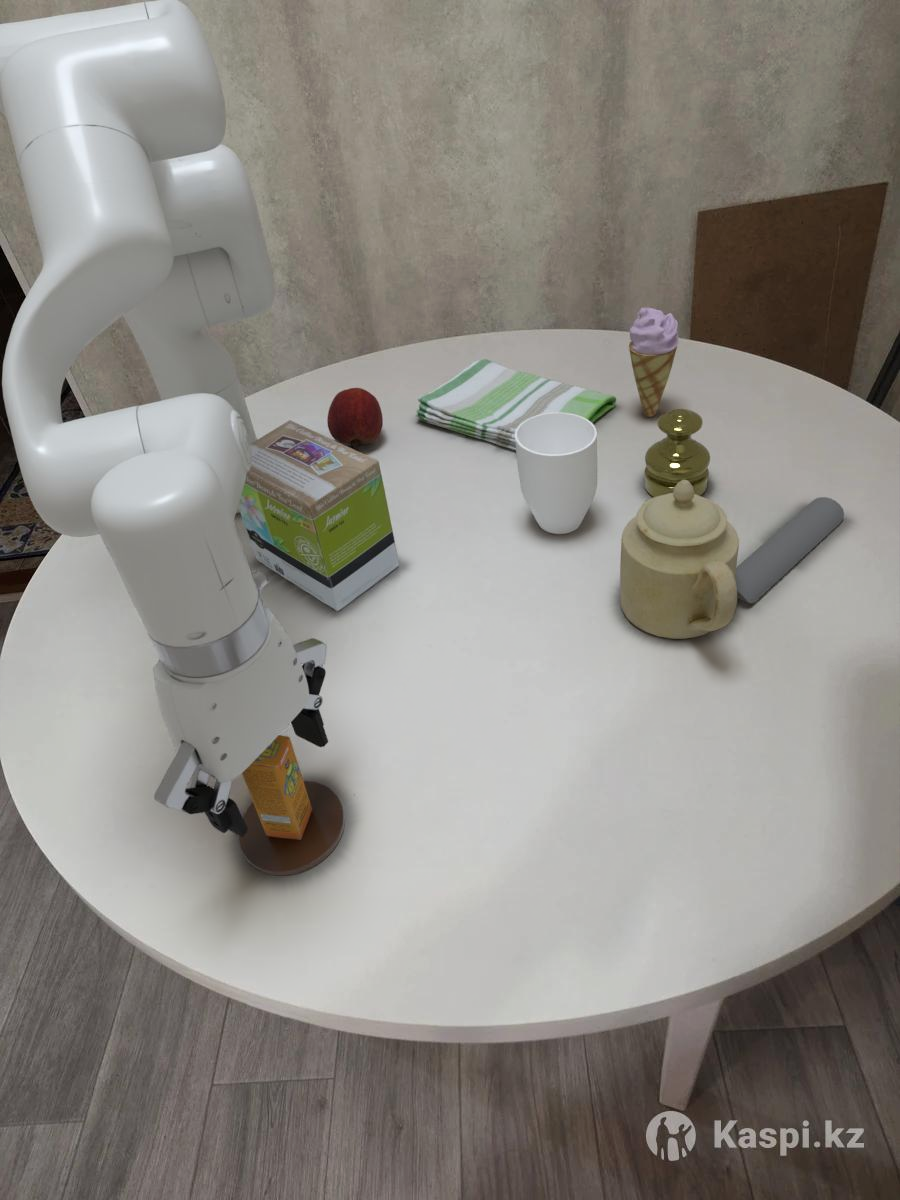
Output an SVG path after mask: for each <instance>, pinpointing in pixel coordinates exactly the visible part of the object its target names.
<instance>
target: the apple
mask: <svg viewBox="0 0 900 1200" xmlns="http://www.w3.org/2000/svg"><path fill="white" fill-rule="evenodd" d="M326 421H327V428H328V432H329V433H330V435H331V437H332V439H333V440H334V441H336V442H338V443H341V444H344V445H346V444H347V445H351V446H350V448H351V449H355V447H357V445H367V444H371V443H373V442H375V441H376V440H377V439H378V438H379V436H380V435H381V433H382V429H383V426H384V425H383V423H384V419H383V413H382V408H381V404H380V402H379V401H378V399H377V397H376V396H375V395H373V394H372V393H371V392H369V391H368V390H366V389H364V388H361V387H350V388H347V389H343V390H341V391H339V392H338V393H337V394H336V395H335V396H334V397H333V399H332V400H331V403H330V405H329V408H328V412H327V420H326Z"/></svg>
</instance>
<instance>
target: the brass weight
mask: <svg viewBox="0 0 900 1200" xmlns="http://www.w3.org/2000/svg"><path fill="white" fill-rule="evenodd" d="M657 427H658V429H659V430H660V431H661V432H662V433H664V434H666V436H665V437H664V438H663V439H661V440H659V441H657V442H655V443H653V444H652V445H651V446H650V447H649V448H648V449H647V451H646V452H645V454H644V455H645V456H644V459H645V461H644V462H645V468H644V488H645V490H646V491H647V493H648V494H649V495H650V496H651V497H652V498H654V497H657V496H661V495H666V494H669V493H673V491H674V488H675V486H676V485H677V484H678V483H679V482H680V481H682V480H687V481H689V482H690V483H691V485H692V487H693V489H694V493H695V494H696V495H699V496H702V495H703V494H704V493H705V492H706V490H707V488H708V478H709V474H710V471H709V466H710V463H711V453H710V451H709V450H708V449H707V447H706V446H705V445H704V444H702V443H701V442H699V441H697V440H696V439H694V438H693V437H692V436H693V434H696V433H698V432H699V431H700V430H701V428H702V427H703V418H702V416H701V415H700V414H698V413H697V412H695V411H692V410H691V409H687V408H686V409H685V408H675V409H671V410H668V411H666V412H664V413H662V414H661V415H659V417H658V418H657Z"/></svg>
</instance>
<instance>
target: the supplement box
mask: <svg viewBox="0 0 900 1200" xmlns="http://www.w3.org/2000/svg"><path fill="white" fill-rule="evenodd" d="M241 775H242V777H243V780H244V782H245V785H246V788H247V791H248V792H249V796H250V798H251V800H252V803H254V806H255V808H256V811H257V813H258V816H259V818H260V821H261V824H262V826H263V828H264V831H265V833H266V835H267V836H272V837H279V838H288V839H297V840H300V839H301V838H302V836H303V833H304V831H305V828H306V826H307V823H308V820H309V817H310V814H311V812H312V807H311V804H310V801H309V798H308V795H307V791H306V788H305V785H304V782H303V780H304V777H303V775H302V772H301V769H300V765H299V763H298V759H297V755H296V753H295V750H294V746H293V743H292V740H291V737H289V736H288V735H281V734H279V735H278V737H277V738H276V739H275V740H274V741H273V742H272V743H271V744H270V745H269V746H268V747H267V748H266V749H265V750H264V751H263V752H262V753H261V754H260V755H259V756H258V757H257V758H256V759H255V760H254V761H253V763H252V764H251V765H250V766H249V767H248V768H247V769H246V770H244V771H243V772H242V773H241Z"/></svg>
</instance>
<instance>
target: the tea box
mask: <svg viewBox="0 0 900 1200" xmlns="http://www.w3.org/2000/svg"><path fill="white" fill-rule="evenodd" d="M250 446H251V455H252V462H251V468H250V470H249V471H248V472H247V474H246V479H245V484H244V488H243V491H242V494H241V497H240V500H239V503H238V507H239V510H240V513H239V514H240V515H241V518H242V522H243V525H244V527H245V529H246V533H247V535H248V538H249V541H250V544H251V547H252V550H253V553H254V556H255V558H256V560H257V561H258V562H260V563H261V564H262V565H264V566H265V567H267V568H268V569H269V570H271V571H274V572H275V573H276V574H278V575H279V576H281V577H282V578H284V579H285V580H288V581H289V582H291V583H292V584H294V585H295V586H297V587H298V588H299V589H301V590H303V591H304V592H306V593H308V594H310V595H311V596H312V597H314V598H315V599H317V600H319V601H320V602H321V603H323V604H325V605H327V606H328V607H330V608H331V609H333V610H334V611H336V612H339V611H341V610H342V609H343V608H345V607H346V606H348V605H349V604H350V603H352V602H353V601H355V600H356V599H357V598H358V597H360V596H361V595H362V594H364V593H365V592H366V591H367V590H369V589H370V588H371V587H373V586H374V585H376V584H377V583H378V582H380V581H381V580H382V579H384V578H385V577H387V575H390V573H391V572H392V571H394V570H395V569H396V568H397V567H399V565H400V562H399V556H398V551H397V545H396V542H395V541H396V540H395V535H394V530H393V526H392V521H391V516H390V511H389V507H388V506H389V505H388V499H387V494H386V491H385V490H386V489H385V485H384V481H383V475H382V471H381V466H380V461H379V460H378V459H375V458H373V457H372V456H369V455H367V454H365V453H362V452H360V451H358V450H356V449H355V448H351V447H350V446H347V445H346V444H344V443H340V442H338V441H336V440H335V439H333V438H332V439H331V438H330V437H327V436H325V435H324V434H321V433H319V432H317V431H314V430H312V429H310V428H308V427H306V426H304V425H302V424H300V423H297V422H295V421H293V420H290V419H289V420H287V421H286V422H284V423H282V424H281V425H279V426H278V427H276V428H274V429H273V430H271V431H269V432H268V433H266V434H265V435H263V436H261V437H260V438H257V440H256V441H254V442H253V443H251V444H250Z"/></svg>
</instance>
